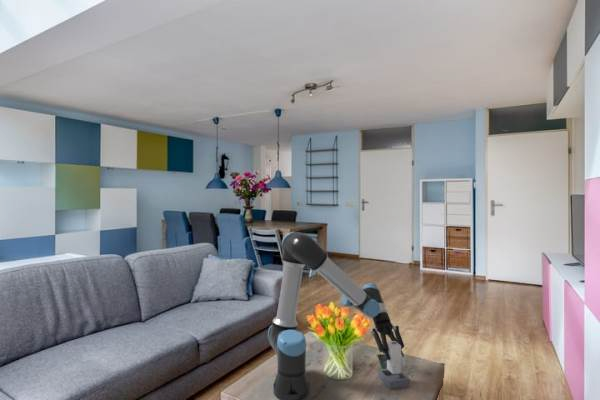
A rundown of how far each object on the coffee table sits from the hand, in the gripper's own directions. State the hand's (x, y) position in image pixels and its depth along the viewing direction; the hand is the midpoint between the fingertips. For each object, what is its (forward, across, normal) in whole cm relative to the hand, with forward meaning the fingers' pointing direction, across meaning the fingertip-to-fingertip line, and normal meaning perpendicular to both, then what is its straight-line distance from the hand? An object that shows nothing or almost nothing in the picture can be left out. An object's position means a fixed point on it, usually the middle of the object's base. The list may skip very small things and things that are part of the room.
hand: (398, 366), depth 151 cm
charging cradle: (+3, 0, -8) cm, 9 cm away
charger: (0, 0, -5) cm, 5 cm away
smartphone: (-7, -6, -20) cm, 22 cm away
